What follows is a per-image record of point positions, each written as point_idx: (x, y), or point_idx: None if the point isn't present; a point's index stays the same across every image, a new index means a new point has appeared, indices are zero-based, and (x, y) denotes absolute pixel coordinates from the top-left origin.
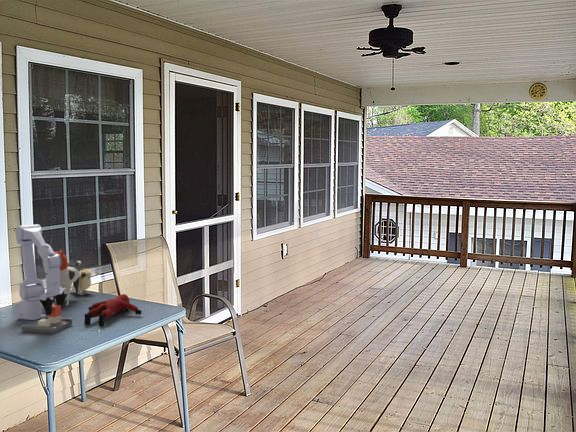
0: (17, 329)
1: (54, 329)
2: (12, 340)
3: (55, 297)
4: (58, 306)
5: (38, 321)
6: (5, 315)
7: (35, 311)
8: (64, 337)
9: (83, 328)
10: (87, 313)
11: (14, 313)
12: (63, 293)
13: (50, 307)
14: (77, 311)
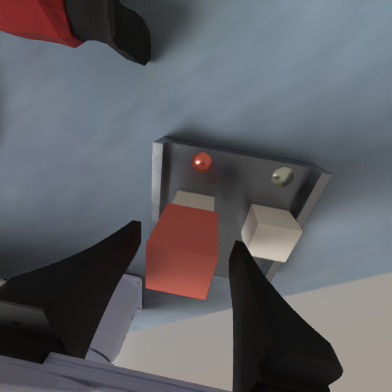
0: None
1: (302, 165)
2: (354, 265)
3: (94, 331)
4: (178, 246)
5: (285, 258)
6: None
7: (118, 302)
8: (388, 67)
9: (212, 31)
10: (93, 15)
11: None
12: (2, 332)
13: (266, 281)
14: (5, 199)
